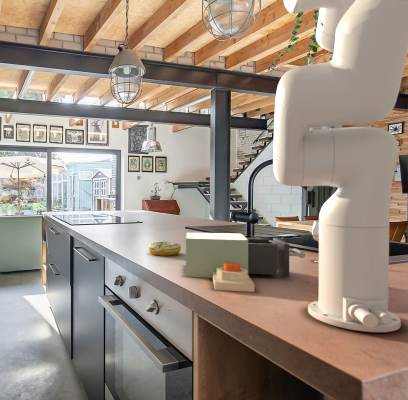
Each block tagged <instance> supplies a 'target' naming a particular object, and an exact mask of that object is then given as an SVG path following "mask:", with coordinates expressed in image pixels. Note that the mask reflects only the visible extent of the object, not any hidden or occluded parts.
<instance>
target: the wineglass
mask: <svg viewBox="0 0 408 400" xmlns="http://www.w3.org/2000/svg"><path fill="white" fill-rule="evenodd" d="M311 235H312V238H313V240H314V241H316V242H318V243H319V220H314V221H313V224H312V230H311ZM314 262H315V263H318V264H319V259H315V260H314Z"/></svg>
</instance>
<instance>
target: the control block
mask: <svg viewBox="0 0 408 400" xmlns="http://www.w3.org/2000/svg"><path fill="white" fill-rule="evenodd" d="M211 279H212V283H213V287H214V290H216V291H233V292H249V293H250V292H251V293H254V292H255V282H254V281H253V280H252V278H251V277H250V275H249V273H248V271H247V270H246V269H243V268H240V272H229V271H224V267H219V268H217V272H212V278H211Z"/></svg>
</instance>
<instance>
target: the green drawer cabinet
mask: <svg viewBox="0 0 408 400" xmlns="http://www.w3.org/2000/svg"><path fill="white" fill-rule="evenodd" d="M225 262H236V263H240V268H243V269H246V270H247V271H248V239H247V237H246V236H245V235H243V234H242V233H230V232H229V233H228V232H227V233H225V232H222V233H221V232H186V235H185V277H189V278H190V277H191V278H207V279H209V278H211V279H212V272H217V268H219V267H224V263H225Z"/></svg>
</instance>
